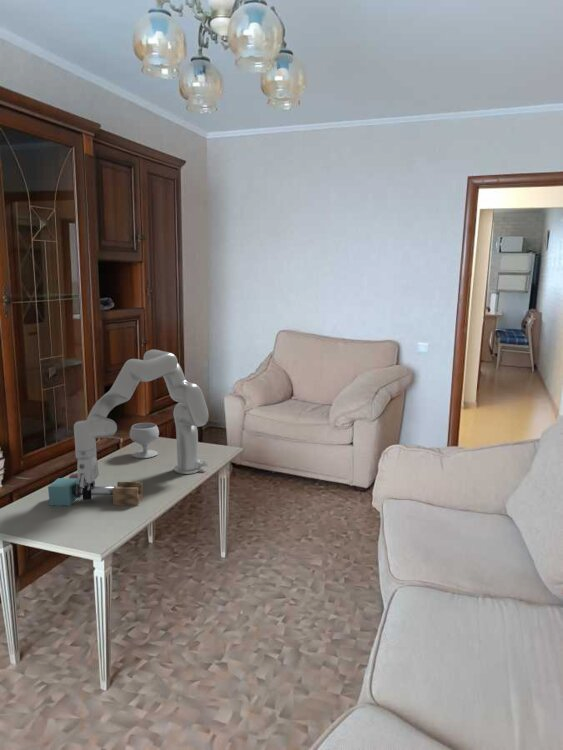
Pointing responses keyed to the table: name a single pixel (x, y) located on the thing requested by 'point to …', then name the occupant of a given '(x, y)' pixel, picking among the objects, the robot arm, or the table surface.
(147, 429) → the chalice
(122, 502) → the wooden cradle block
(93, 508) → the table surface
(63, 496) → the socket block
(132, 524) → the table surface
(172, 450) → the table surface
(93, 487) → the rod
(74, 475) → the video game controller
